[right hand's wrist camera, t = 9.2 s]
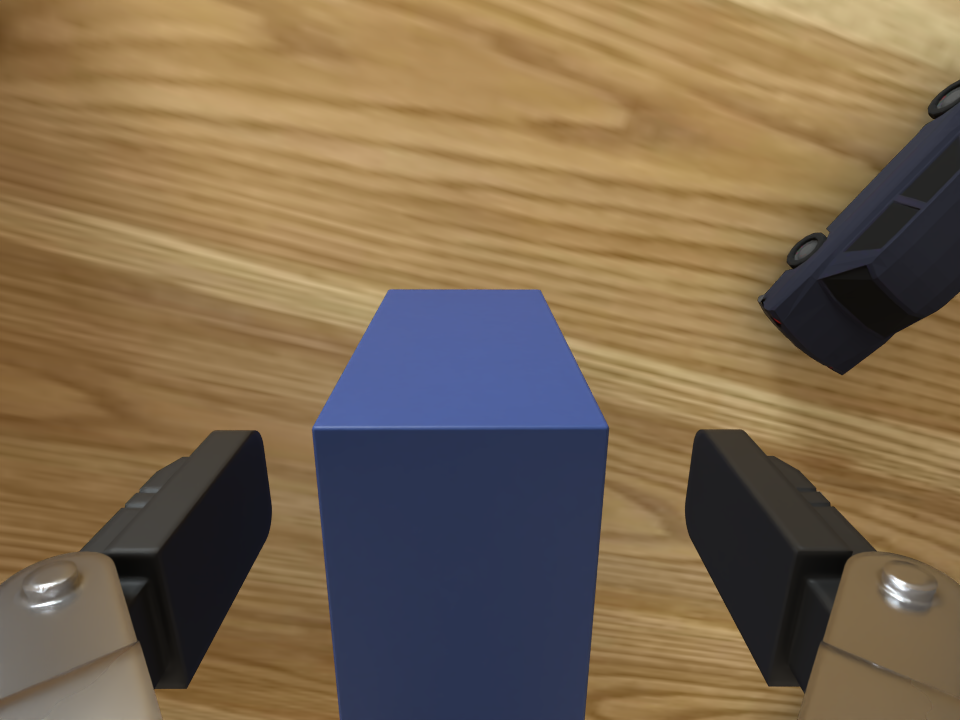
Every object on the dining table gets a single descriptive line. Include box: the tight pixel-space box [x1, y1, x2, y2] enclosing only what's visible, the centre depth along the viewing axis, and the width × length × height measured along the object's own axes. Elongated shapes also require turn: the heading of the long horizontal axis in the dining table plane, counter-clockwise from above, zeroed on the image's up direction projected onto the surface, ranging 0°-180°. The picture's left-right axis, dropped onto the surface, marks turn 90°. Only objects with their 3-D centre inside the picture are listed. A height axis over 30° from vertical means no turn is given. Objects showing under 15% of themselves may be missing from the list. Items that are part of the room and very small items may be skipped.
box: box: [312, 290, 609, 720], centre depth 23 cm, size 27×6×13 cm, turn 0°
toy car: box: [757, 80, 960, 375], centre depth 28 cm, size 6×15×5 cm, turn 142°
